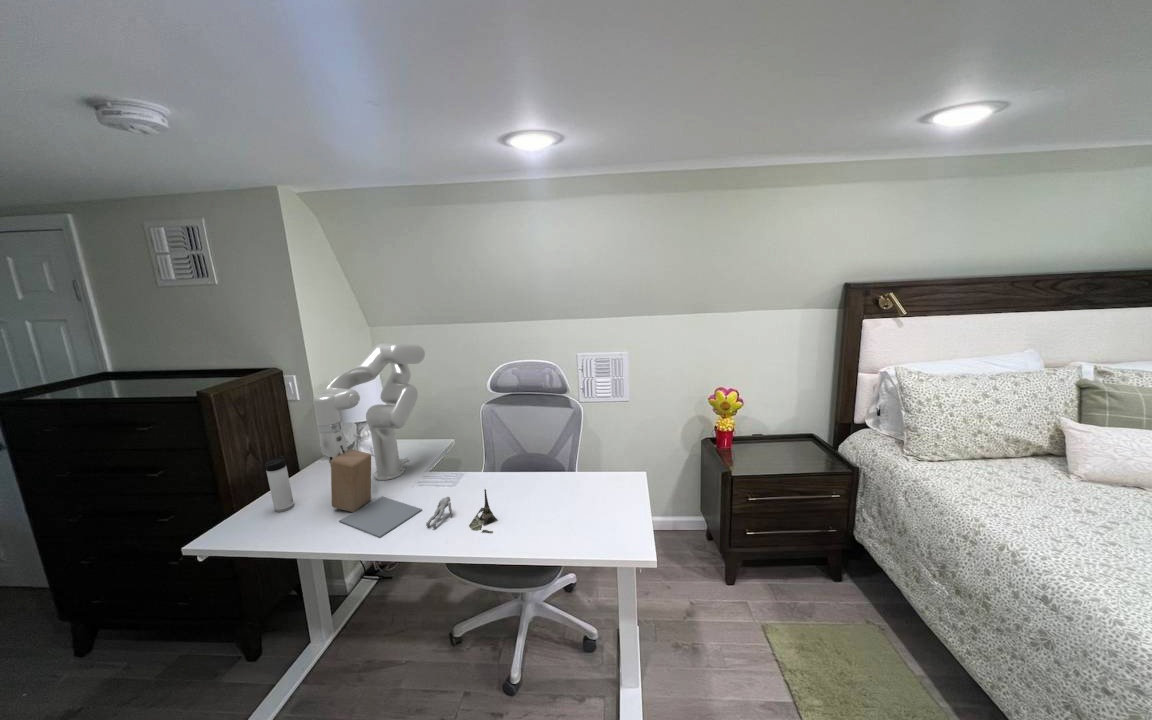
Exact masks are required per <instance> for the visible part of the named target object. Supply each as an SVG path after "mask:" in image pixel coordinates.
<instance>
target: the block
mask: <svg viewBox="0 0 1152 720" xmlns="http://www.w3.org/2000/svg"><path fill="white" fill-rule="evenodd" d="M330 473H331V474H330V479H331V481H330V485H331V486H330V487H331V488H330V489H331V494H330V495H331V507H333V508H336V509H339V510H343V511H346V512H351V513H353V512H355V511H357V510H359V509H360V508H362V507H364V506H365V505H366V504H368V502H369V501H371V500H372V499H371V498H372V454H371V453H370V452H369V453H368V452H366V451H365V452H364V451H359V450H356V449H348V452H346V453H345V452H343V454H341V455H338V456H336V457H335V458H333V459H332V460H331V465H330Z"/></svg>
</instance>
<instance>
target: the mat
mask: <svg viewBox="0 0 1152 720" xmlns="http://www.w3.org/2000/svg"><path fill="white" fill-rule="evenodd" d="M422 511H423V509H422V508H420V507H416V506H413V505H410V504H407V503H404V502H401V501H398V500H395V499H392V498H390V497H386V496H383V495H382V496H380V497H378V498H377V499H375V500H373V501H371V502H369V503H367V504H365V505H363V506H362V507H360V508H359V509H358V510H357V511H355V512H351V513H349V514H348V515H345V516H344V517H343V518H341V519H339V520H338V523H341V524H343V525H346V526H348V527H351V528H353V529H356V530H358V531H361V532H363V533H367V534H369V535H371V536H374V537H375V538H378V539H381V538H383V537H384V536H385V535H387V534H389V533H390V532H392V531H393V530H394V529H396V528H397V527H400V526H401V525H403V524H404V523H405V522H407V521H409V520H410V519H412V518H413V517H415V516H416V515H418V514H419V513H421V512H422Z"/></svg>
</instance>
